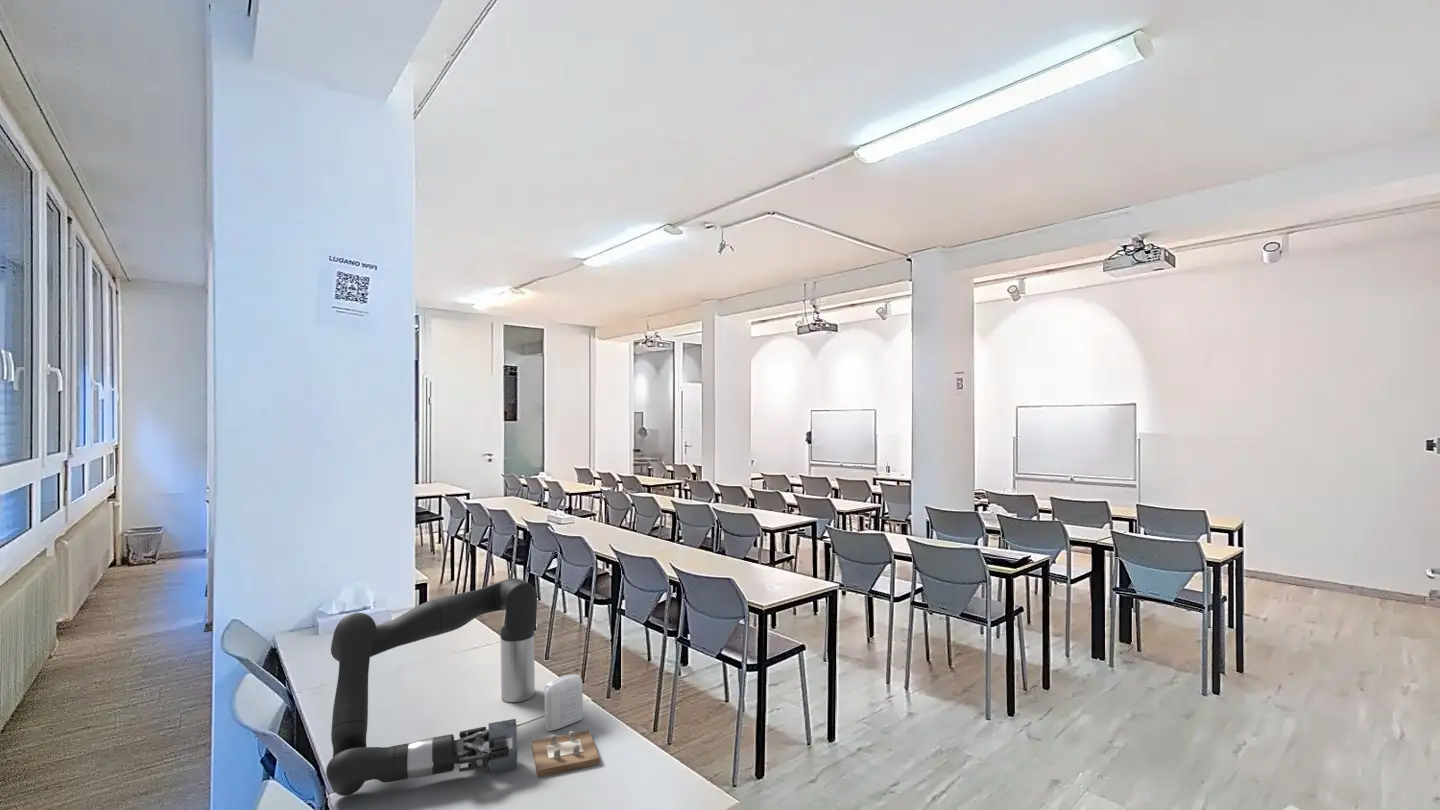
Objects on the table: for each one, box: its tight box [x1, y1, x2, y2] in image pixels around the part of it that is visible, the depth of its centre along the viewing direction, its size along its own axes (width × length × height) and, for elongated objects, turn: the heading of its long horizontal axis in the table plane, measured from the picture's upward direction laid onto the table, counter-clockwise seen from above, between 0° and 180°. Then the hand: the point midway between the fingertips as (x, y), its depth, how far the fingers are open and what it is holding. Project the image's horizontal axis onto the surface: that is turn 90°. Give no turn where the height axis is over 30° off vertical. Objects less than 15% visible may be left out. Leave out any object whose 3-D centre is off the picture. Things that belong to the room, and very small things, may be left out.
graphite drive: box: [488, 718, 518, 776], centre depth 152 cm, size 4×6×10 cm
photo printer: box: [544, 673, 584, 732], centre depth 173 cm, size 10×4×12 cm, turn 134°
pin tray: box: [531, 729, 601, 778], centre depth 157 cm, size 14×14×4 cm
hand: (507, 741), depth 152 cm, fingers open, 8 cm apart
